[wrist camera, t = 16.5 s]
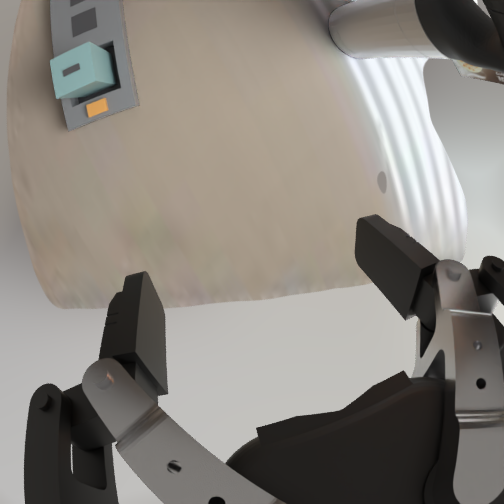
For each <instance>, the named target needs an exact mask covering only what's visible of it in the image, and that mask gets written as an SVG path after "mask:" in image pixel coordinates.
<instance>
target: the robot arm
mask: <svg viewBox="0 0 504 504" xmlns="http://www.w3.org/2000/svg"><path fill="white" fill-rule="evenodd" d="M483 2H484V4H485V6H486V8H487V10H488V12H489V14H490V16H491V18H490V17H489V16H488V15H486V14H485V13H484V12H483V11H482V10H481V8H480V7H479V6H478V5H477V4H476V3H475V2H474V1H473V0H357V1H353V2H351V3H348V4H346V5H343V6H340V7H338V8H337V9H335V10H334V11H333V12H332V14H331V16H330V18H329V31H330V35H331V37H332V39H333V41H334V42H335V44H336V45H337V46H338V47H339V48H340V49H341V50H342V51H343V52H344V53H345V54H347V55H349V56H351V57H354V58H357V59H370V58H396V57H416V58H441V59H453V60H461V61H463V62H465V63H467V64H469V65H472V66H476V67H481V68H485V69H490V70H494V71H498V72H501V73H504V0H483ZM355 258H356V261H357V264H358V265H359V267H360V268H361V269H362V270H363V271H364V272H365V274H366V275H367V276H368V277H369V278H370V279H371V280H372V282H373V283H374V284H375V285H376V286H377V287H378V288H379V290H380V291H381V292H382V293H383V294H384V295H385V297H386V298H387V299H388V300H389V301H390V302H391V304H392V305H393V306H394V307H395V309H396V310H397V311H398V312H399V313H400V315H401V316H402V317H403V318H404V319H405V320H407V319H409V318H412V317H413V316H417V317H418V321H417V325H416V326H417V327H416V329H417V330H416V360H415V368H414V372H413V375H412V378H408V376H407V375H406V373H405V372H404V371H402V372H400V373H398V374H396V375H394V376H392V377H390V378H388V379H386V380H384V381H382V382H380V383H378V384H376V385H374V386H372V387H371V388H370V389H368V390H367V391H366V392H365V393H364V394H362V395H361V396H360V397H359V398H357V399H356V400H355V401H353V402H352V403H351V404H349V405H348V406H347V407H345V408H344V409H342V410H340V411H335V412H328V413H321V414H312V415H304V416H296V417H292V418H289V419H286V420H283V421H279V422H276V423H272V424H269V425H265V426H262V427H258V428H256V430H257V433H258V437H257V438H255V439H253V440H251V441H249V442H248V443H246V444H245V445H243V446H242V447H241V448H240V449H238V450H237V451H236V452H235V453H234V454H233V455H232V456H231V457H230V458H229V459H228V460H227V462H226V463H223V462H222V461H221V460H219V459H218V458H217V457H216V456H214V455H213V454H212V453H210V452H209V451H208V450H207V449H205V448H204V447H203V446H202V445H201V444H200V443H198V442H197V441H196V440H195V439H194V438H193V437H191V436H190V435H189V434H188V433H187V432H186V431H185V430H184V429H182V428H181V427H180V426H179V425H178V424H177V423H176V422H175V421H174V420H173V419H171V417H169V416H168V415H167V414H166V413H165V412H164V411H163V410H162V409H161V408H160V407H159V406H158V396H160V395H166V394H168V386H167V368H166V337H165V313H164V309H163V306H162V303H161V301H160V299H159V297H158V294H157V292H156V290H155V288H154V286H153V283H152V281H151V279H150V277H149V275H148V273H147V272H146V271H144V272H140V273H136V274H132V275H128V276H126V277H125V281H124V286H123V291H122V292H118V293H116V295H115V296H114V298H113V299H112V301H111V302H110V304H109V308H108V312H107V317H106V322H105V327H104V332H103V337H102V343H101V348H100V354H99V360H98V361H96V362H95V363H93V364H92V365H91V366H89V368H88V369H87V370H86V372H85V374H84V376H83V379H82V383H81V384H79V385H77V386H75V387H72V388H70V389H68V390H66V391H63V392H62V391H61V390H60V389H59V388H58V387H57V386H55V385H53V384H44V385H42V386H41V387H39V388H38V389H37V390H36V391H35V393H34V394H33V396H32V398H31V401H30V406H29V413H28V420H27V430H26V441H25V455H24V493H25V504H119V503H118V497H117V490H116V483H115V475H114V466H113V455H112V443H113V442H116V441H117V444H116V445H115V446H116V449H117V451H118V452H119V454H120V455H121V456H122V458H123V459H124V460H125V461H126V463H127V464H128V465H129V466H130V467H131V469H132V470H133V471H134V472H135V473H136V474H137V476H138V477H139V478H140V479H141V480H142V481H143V482H144V483H145V485H146V486H147V487H148V488H149V489H150V490H151V491H152V492H153V493H154V494H155V495H156V496H157V497H158V498H159V499H160V500H161V501H162V502H163V503H164V504H504V326H503V325H502V324H501V323H500V322H499V320H498V319H497V318H496V317H495V315H494V314H493V311H494V310H495V307H496V306H497V304H498V302H499V301H500V302H501V303H502V304H503V305H504V261H503V260H501V259H500V258H497V257H495V256H486V257H484V258H483V260H482V263H481V266H480V268H479V269H472V270H468V269H467V268H466V267H465V266H464V265H463V264H461V263H460V262H457V261H454V260H449V259H447V260H442V261H440V260H439V259H437V258H436V257H435V256H434V255H433V254H432V253H430V252H429V251H428V250H427V249H426V248H424V247H423V246H422V245H421V244H420V243H418V242H416V240H415V239H413V238H412V237H410V236H409V235H408V234H407V233H406V232H405V231H403V230H402V229H401V228H399V227H396V226H394V225H392V224H389V223H388V222H387V221H385V220H384V219H383V218H381V217H380V216H379V215H376V214H375V215H370V216H366V217H362V218H359V219H358V221H357V227H356V242H355ZM71 444H72V455H73V456H72V457H73V458H72V459H73V473H72V471H71Z"/></svg>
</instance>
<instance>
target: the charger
mask: <svg viewBox="0 0 504 504" xmlns="http://www.w3.org/2000/svg"><path fill="white" fill-rule="evenodd" d="M50 66H51V72H52V79H53V84H54V90H55V95H56V99H62V98H77V97H86V96H89V95H91V94H94V93H96V92H99V91H101V90H104V89H106V88H109V87H112V86H114V85H117V82H116V77H115V72H114V66H113V61H112V55H111V53H109V52H107V51H106V50H104V49H102V48H100V47H98V46H97V45H95V44H93V43H91V42H87V43H85V44H83V45H80V46H78V47H76V48H74V49H72V50H70V51H67V52H65V53H63V54H61V55H59V56H57V57H56V58H54V59H52V60H50Z"/></svg>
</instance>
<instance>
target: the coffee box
mask: <svg viewBox="0 0 504 504" xmlns="http://www.w3.org/2000/svg"><path fill="white" fill-rule="evenodd" d="M452 61H453V62H454V64H455V66H456V68H457V70H458V71H459V73H460V75H461V76H463V77H470V78H476V79H480V80H486V81H491V82H495V83H500V84H504V73H501V72H498V71H494V70H490V69H485V68H481V67H476V66H472V65H469V64H467V63H465V62H463V61H461V60H453V59H452Z"/></svg>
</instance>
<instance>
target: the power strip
mask: <svg viewBox="0 0 504 504" xmlns="http://www.w3.org/2000/svg"><path fill="white" fill-rule="evenodd" d="M50 16H51V32H52V44H53V53H54V58H56V57H57V56H59V55H61V54H63V53H65V52H67V51H70V50H72V49H74V48H76V47H78V46H80V45H83V44H85V43H87V42H91V43H93V44H95V45H97V46H98V47H100V48H102V49H104V50H106V51H107V52H109V53H111V55H112V61H113V66H114V72H115V77H116V82H117V85H114V86H112V87H109V88H106V89H104V90H101V91H99V92H96V93H94V94H91V95H89V96H86V97H77V98H62V99H61V101H62V106H63V111H64V115H65V119H66V123H67V128H68V131H71V130H74V129H77V128H79V127H82V126H84V125H86V124H89V123H91V122H94V121H96V120H99V119H102V118H104V117H107V116H110V115H112V114H115V113H118V112H121V111H124V110H127V109H130V108H133V107H136V106H139V105H140V104H139V99H138V95H137V90H136V85H135V79H134V74H133V69H132V63H131V57H130V51H129V45H128V39H127V32H126V25H125V17H124V9H123V0H50Z"/></svg>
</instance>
